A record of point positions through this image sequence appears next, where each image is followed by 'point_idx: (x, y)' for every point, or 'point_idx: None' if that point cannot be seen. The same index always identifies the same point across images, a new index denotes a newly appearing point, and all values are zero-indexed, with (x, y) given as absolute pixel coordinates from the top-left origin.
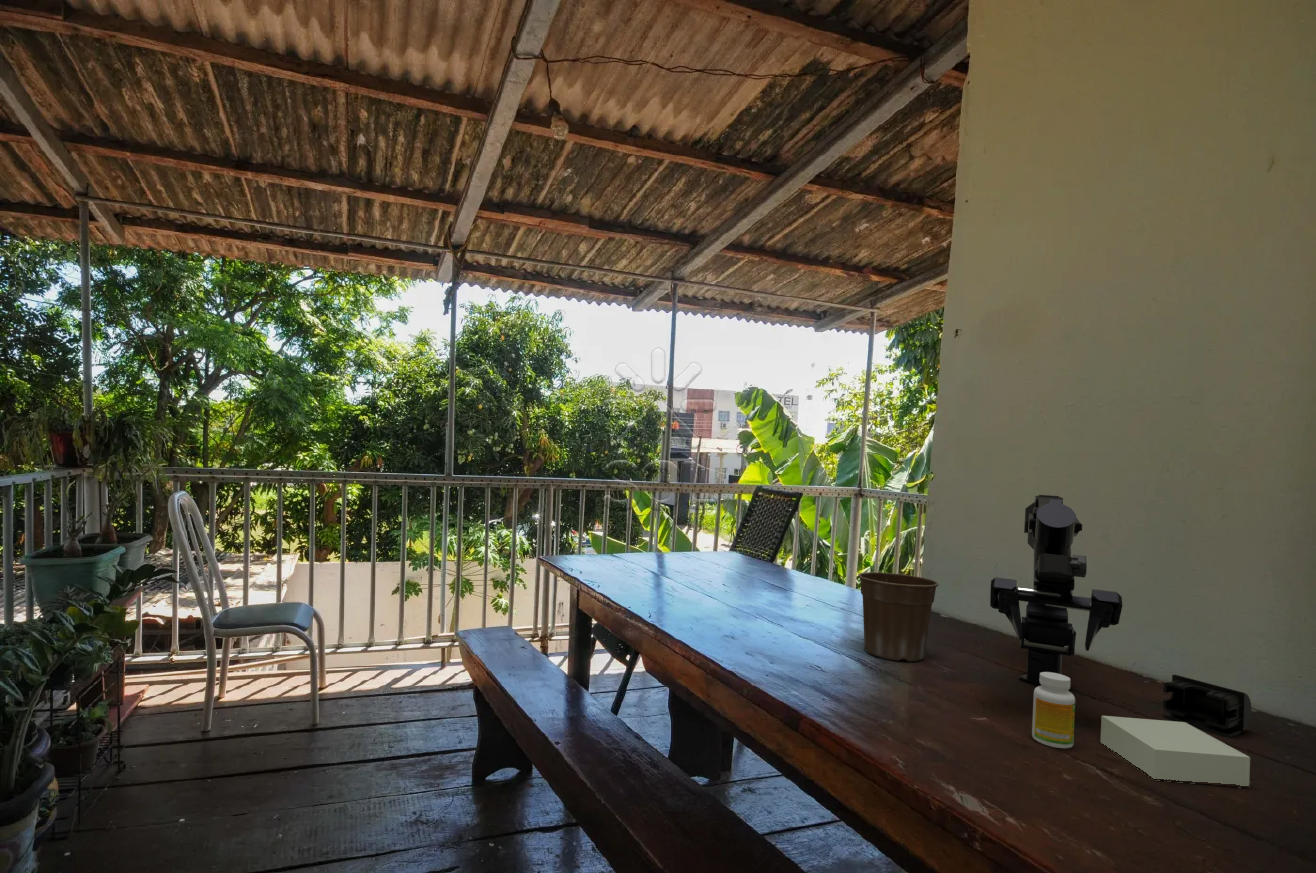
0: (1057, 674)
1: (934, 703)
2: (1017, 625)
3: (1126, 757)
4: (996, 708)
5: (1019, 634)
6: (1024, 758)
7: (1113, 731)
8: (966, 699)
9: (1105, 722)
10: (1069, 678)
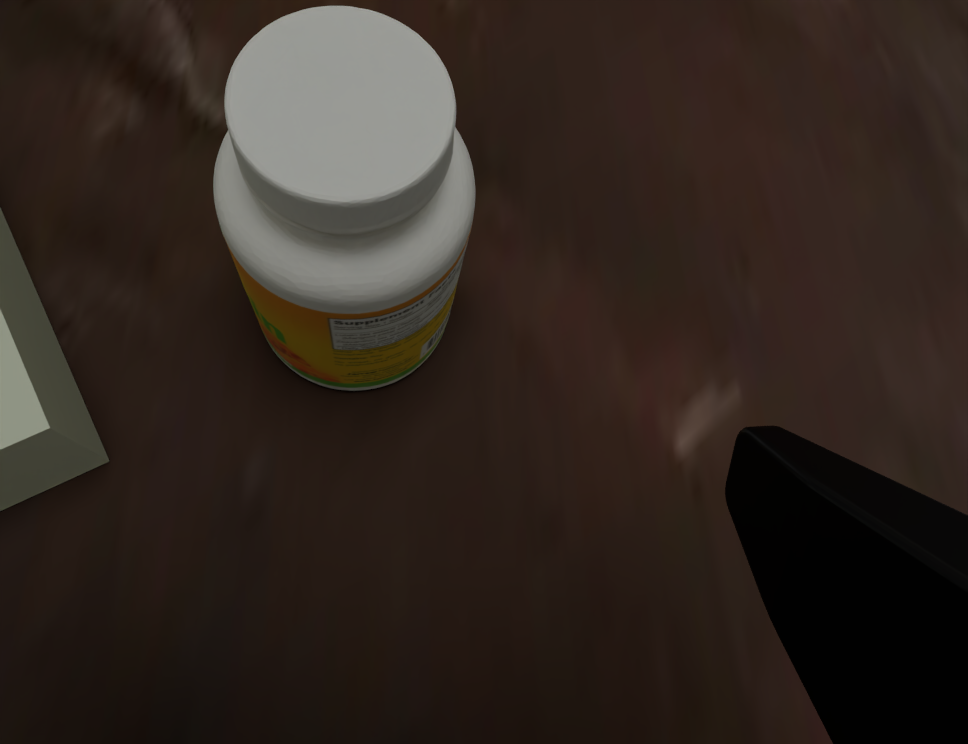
0: (320, 160)
1: (943, 503)
2: (899, 487)
3: (17, 256)
4: (660, 682)
5: (785, 432)
6: (463, 30)
7: (22, 324)
8: None
9: (44, 391)
10: (230, 100)
